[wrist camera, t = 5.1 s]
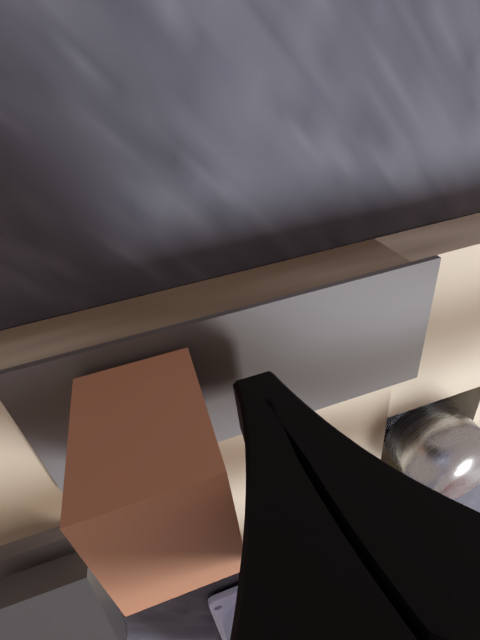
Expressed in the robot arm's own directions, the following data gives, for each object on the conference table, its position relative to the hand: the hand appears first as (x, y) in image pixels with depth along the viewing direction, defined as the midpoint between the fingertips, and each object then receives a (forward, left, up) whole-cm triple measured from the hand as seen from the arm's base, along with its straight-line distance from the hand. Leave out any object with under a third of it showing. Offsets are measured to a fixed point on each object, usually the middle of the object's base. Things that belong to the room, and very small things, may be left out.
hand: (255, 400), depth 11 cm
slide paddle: (0, +3, -1) cm, 3 cm away
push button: (-7, -8, -2) cm, 11 cm away
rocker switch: (-7, +8, 0) cm, 11 cm away
